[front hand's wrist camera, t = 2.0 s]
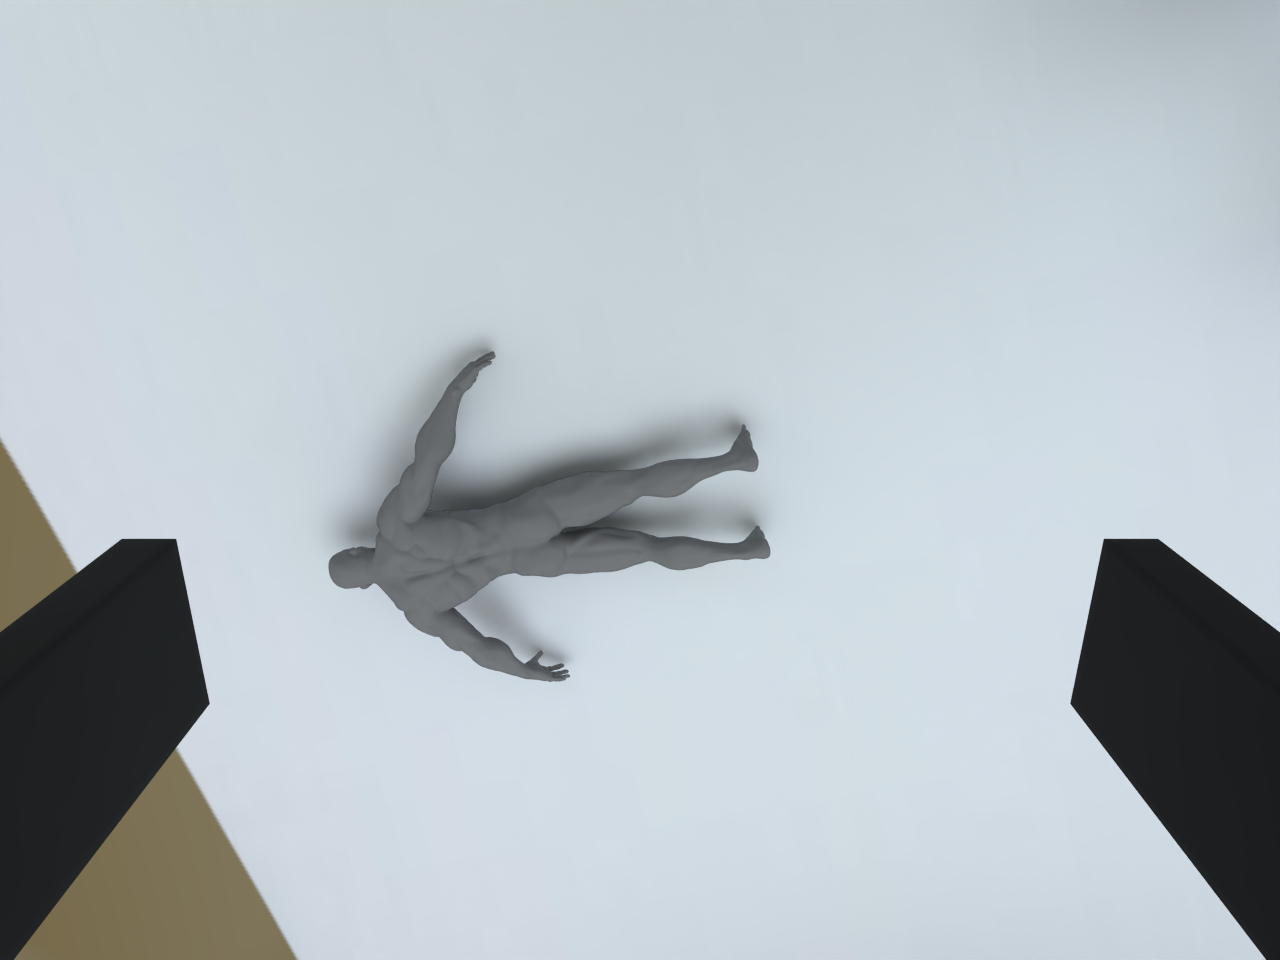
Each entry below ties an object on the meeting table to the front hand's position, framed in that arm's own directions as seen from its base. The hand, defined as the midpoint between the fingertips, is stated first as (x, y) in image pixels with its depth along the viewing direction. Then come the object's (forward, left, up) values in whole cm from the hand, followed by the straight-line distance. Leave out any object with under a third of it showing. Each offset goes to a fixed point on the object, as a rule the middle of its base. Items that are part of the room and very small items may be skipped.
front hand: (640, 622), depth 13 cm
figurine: (+10, -5, -28) cm, 30 cm away
